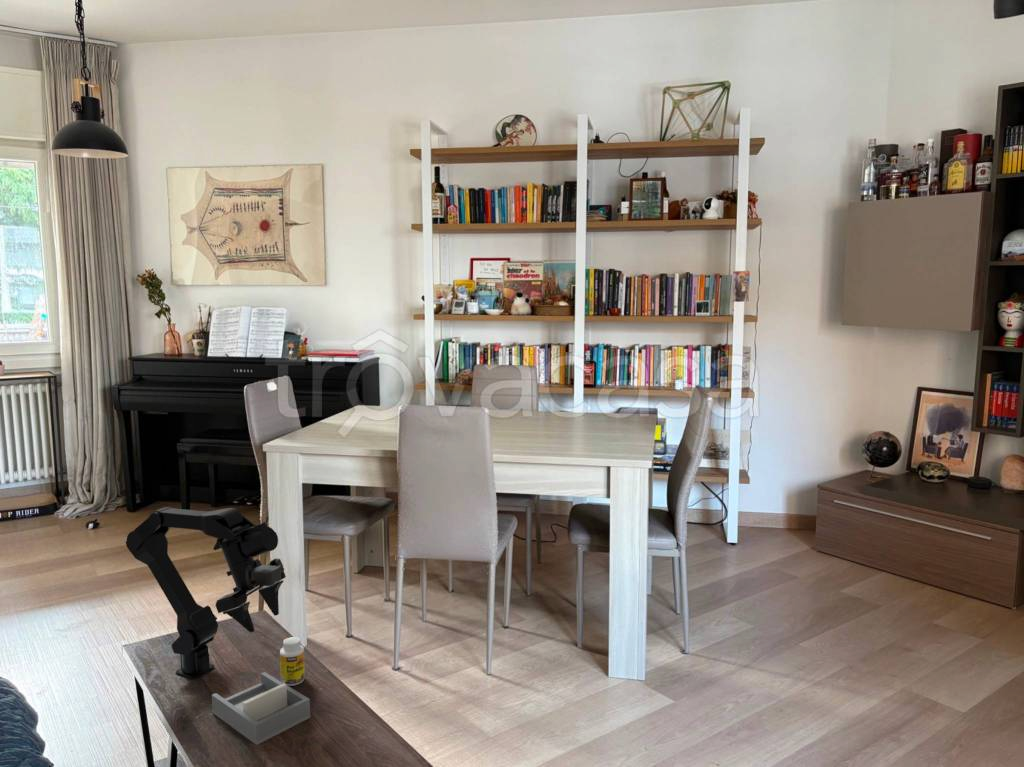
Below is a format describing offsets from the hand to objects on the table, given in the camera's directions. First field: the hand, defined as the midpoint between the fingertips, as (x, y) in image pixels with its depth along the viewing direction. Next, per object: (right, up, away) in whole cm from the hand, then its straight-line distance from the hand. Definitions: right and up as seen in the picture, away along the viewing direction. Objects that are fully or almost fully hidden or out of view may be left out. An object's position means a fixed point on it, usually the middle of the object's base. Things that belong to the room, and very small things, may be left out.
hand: (264, 623), depth 175 cm
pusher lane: (+3, -17, -11) cm, 20 cm away
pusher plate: (+4, -16, -12) cm, 21 cm away
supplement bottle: (+6, -15, +4) cm, 17 cm away
